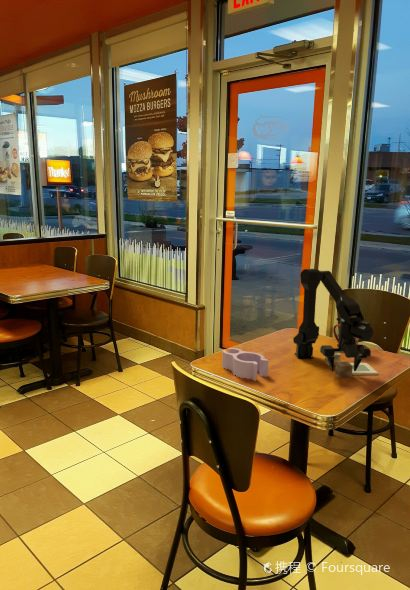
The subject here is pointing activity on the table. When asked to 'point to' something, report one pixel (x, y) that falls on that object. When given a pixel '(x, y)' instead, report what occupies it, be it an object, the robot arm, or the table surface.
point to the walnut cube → (343, 369)
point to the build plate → (363, 370)
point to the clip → (245, 363)
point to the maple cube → (336, 359)
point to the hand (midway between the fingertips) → (343, 371)
